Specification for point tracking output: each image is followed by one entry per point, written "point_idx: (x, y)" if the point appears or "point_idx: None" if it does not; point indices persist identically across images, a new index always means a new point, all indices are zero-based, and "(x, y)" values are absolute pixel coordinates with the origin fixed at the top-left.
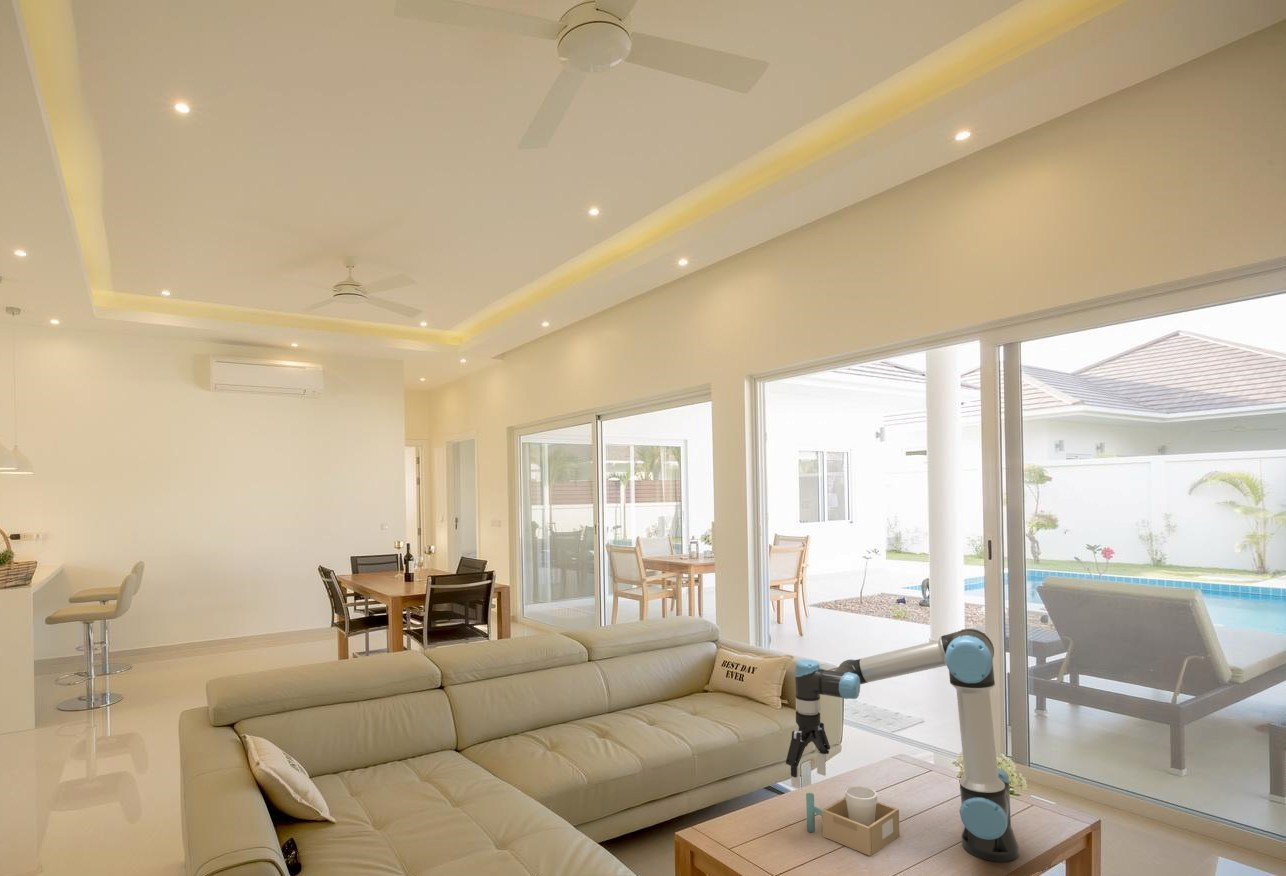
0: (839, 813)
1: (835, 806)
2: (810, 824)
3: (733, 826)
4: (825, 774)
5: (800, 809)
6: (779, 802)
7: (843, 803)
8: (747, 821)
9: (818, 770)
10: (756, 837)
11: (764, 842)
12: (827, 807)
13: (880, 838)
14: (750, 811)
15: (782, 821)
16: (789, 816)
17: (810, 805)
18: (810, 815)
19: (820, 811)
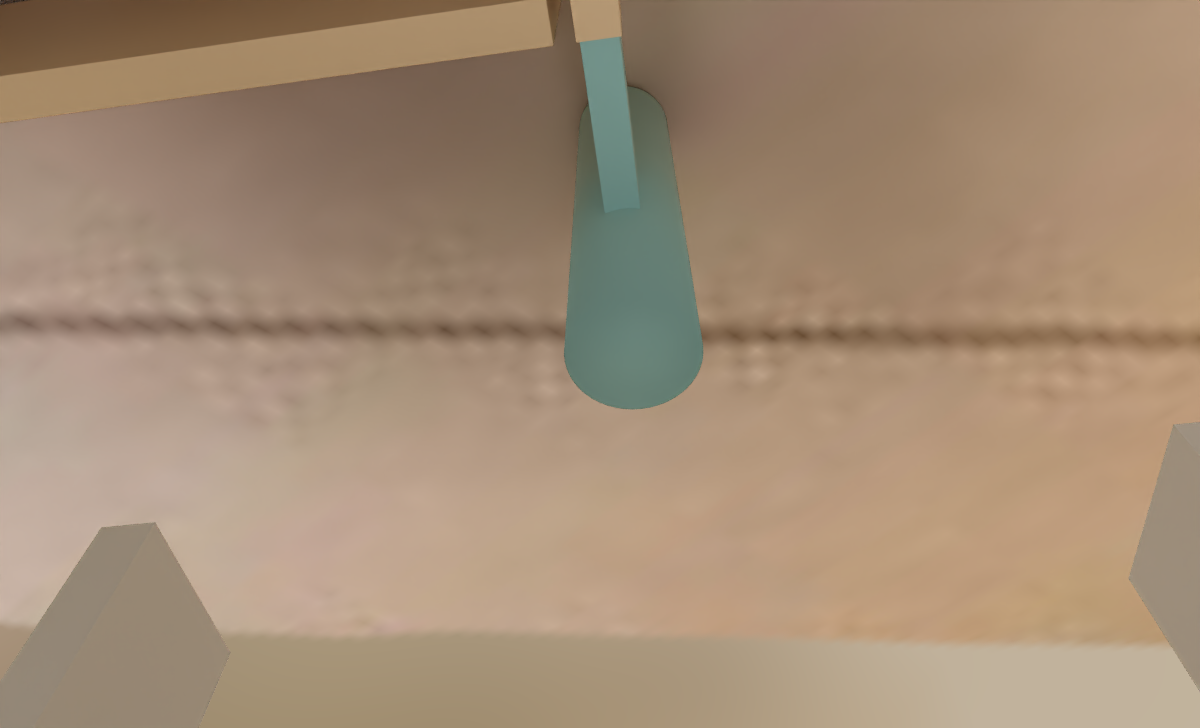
0: (218, 5)
1: (273, 29)
2: (665, 133)
3: (1069, 547)
4: (101, 538)
5: (385, 459)
6: (458, 604)
7: (50, 57)
8: (918, 544)
9: (190, 688)
10: (1126, 343)
11: (1172, 242)
12: (467, 44)
13: None
14: (761, 620)
15: (692, 406)
16: (567, 430)
17: (674, 236)
18: (666, 177)
19: (622, 59)
